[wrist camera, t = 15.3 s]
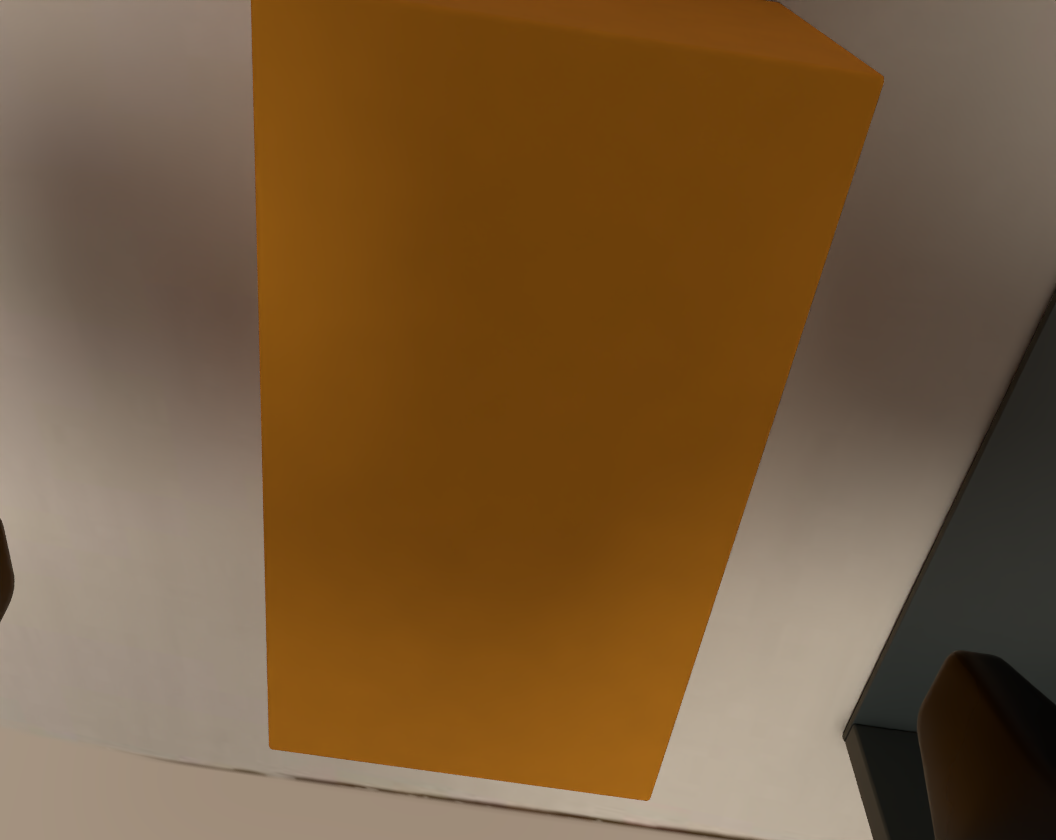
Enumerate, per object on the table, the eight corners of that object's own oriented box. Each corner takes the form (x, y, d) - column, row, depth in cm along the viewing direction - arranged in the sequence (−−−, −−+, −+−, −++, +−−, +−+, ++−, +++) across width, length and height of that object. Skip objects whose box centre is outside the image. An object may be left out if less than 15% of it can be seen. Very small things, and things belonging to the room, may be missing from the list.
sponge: (635, 572, 17) (650, 803, 13) (348, 531, 17) (267, 750, 13) (782, 2, 12) (888, 76, 8) (371, -62, 12) (247, -25, 8)
